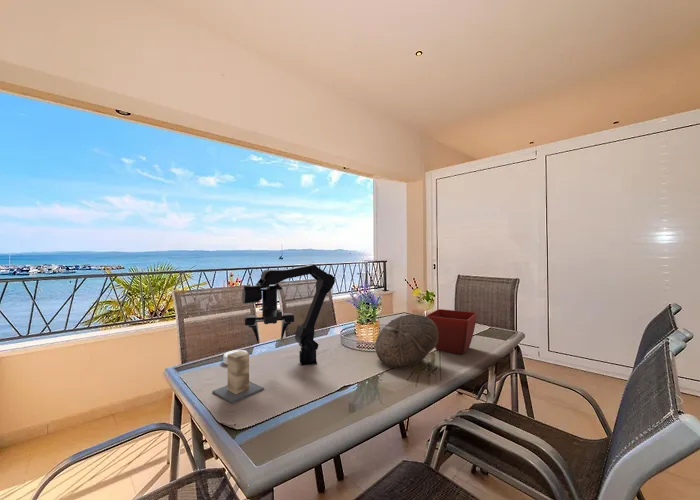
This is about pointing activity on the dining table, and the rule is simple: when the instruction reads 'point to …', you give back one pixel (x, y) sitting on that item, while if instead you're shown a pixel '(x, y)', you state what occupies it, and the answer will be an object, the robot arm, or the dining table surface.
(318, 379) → the dining table surface
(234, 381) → the beech block
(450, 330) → the plant pot
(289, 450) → the dining table surface
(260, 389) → the charcoal mat
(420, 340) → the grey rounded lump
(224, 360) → the white short cylinder
